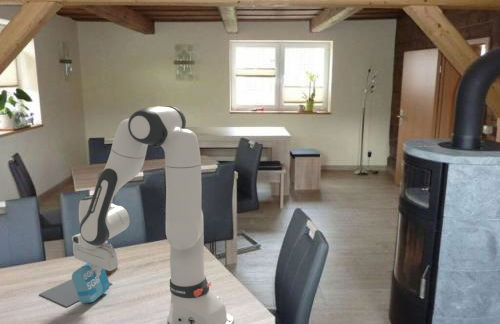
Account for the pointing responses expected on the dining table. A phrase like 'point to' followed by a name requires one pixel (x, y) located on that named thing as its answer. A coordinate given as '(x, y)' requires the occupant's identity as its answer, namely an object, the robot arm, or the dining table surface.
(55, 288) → the mat
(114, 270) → the walnut cube
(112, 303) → the dining table surface
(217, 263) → the dining table surface
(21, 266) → the dining table surface
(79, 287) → the data package
